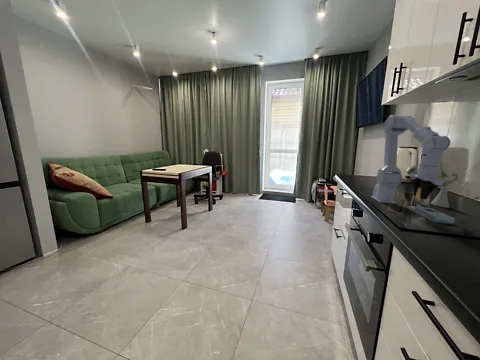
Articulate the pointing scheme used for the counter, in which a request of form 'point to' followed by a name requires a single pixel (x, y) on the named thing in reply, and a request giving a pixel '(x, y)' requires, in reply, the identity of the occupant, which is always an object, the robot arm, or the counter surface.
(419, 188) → the yellow upright block
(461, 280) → the counter surface
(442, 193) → the flask
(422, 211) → the pale blue flat bar
